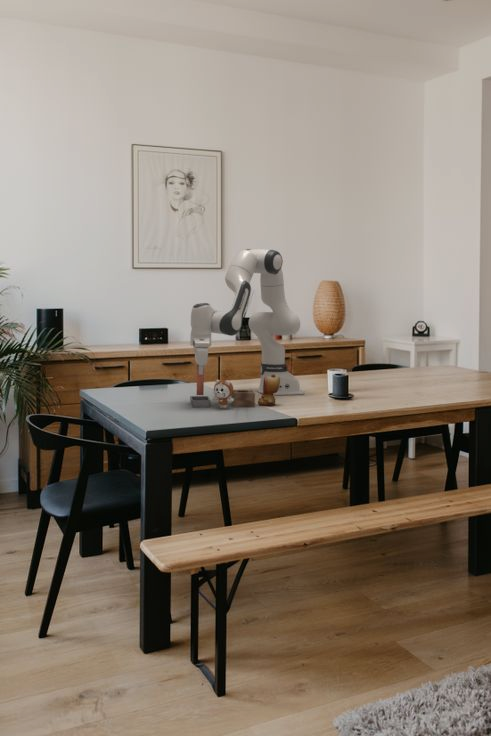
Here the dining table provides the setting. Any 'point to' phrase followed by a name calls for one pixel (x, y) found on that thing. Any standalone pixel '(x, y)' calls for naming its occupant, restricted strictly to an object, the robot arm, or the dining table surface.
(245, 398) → the hitch block
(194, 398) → the tray
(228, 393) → the figurine
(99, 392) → the dining table surface
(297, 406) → the dining table surface
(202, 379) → the pin
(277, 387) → the figurine
